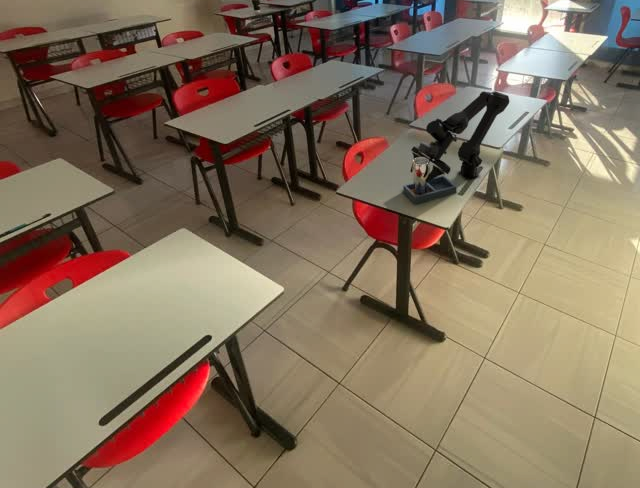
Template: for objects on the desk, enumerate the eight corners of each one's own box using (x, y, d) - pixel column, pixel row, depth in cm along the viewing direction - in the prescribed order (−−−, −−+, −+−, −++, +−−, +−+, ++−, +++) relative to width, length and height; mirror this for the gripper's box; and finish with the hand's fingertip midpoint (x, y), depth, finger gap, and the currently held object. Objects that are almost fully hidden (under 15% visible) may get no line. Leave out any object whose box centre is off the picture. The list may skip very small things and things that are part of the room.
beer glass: (427, 187, 174) (428, 156, 166) (430, 196, 168) (431, 165, 160) (410, 188, 173) (411, 157, 165) (413, 197, 168) (413, 165, 160)
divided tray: (442, 181, 180) (443, 175, 178) (455, 192, 172) (456, 186, 171) (403, 191, 173) (403, 185, 171) (414, 204, 165) (415, 197, 164)
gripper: (415, 127, 166) (393, 159, 166) (447, 144, 153) (422, 179, 153) (429, 139, 174) (407, 170, 174) (460, 157, 161) (437, 190, 161)
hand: (418, 176), depth 165 cm, fingers open, 9 cm apart
